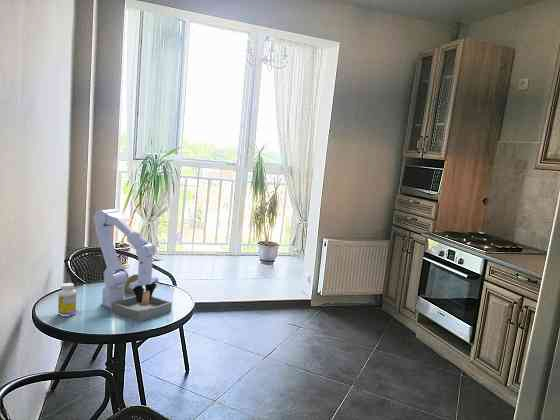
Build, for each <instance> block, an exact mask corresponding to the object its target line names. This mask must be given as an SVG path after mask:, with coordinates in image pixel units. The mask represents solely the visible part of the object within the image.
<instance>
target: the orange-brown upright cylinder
mask: <svg viewBox="0 0 560 420" xmlns="http://www.w3.org/2000/svg"><path fill="white" fill-rule="evenodd" d="M149 300H150V290H146V288H144V291H143V294H142V302H141V303H138V305H140V306H147V305H149Z"/></svg>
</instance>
